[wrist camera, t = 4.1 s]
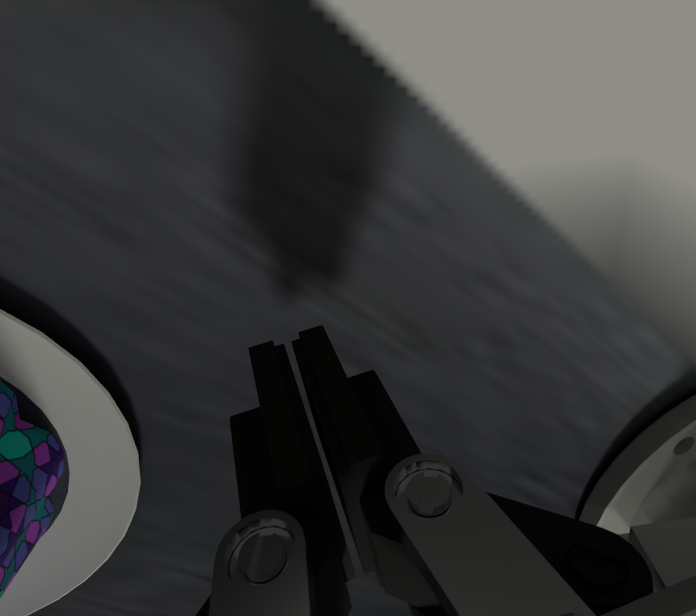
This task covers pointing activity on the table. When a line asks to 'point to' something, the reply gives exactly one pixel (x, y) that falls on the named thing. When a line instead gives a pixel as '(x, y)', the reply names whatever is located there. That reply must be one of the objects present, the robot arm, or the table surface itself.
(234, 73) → the table surface
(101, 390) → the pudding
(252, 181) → the table surface
